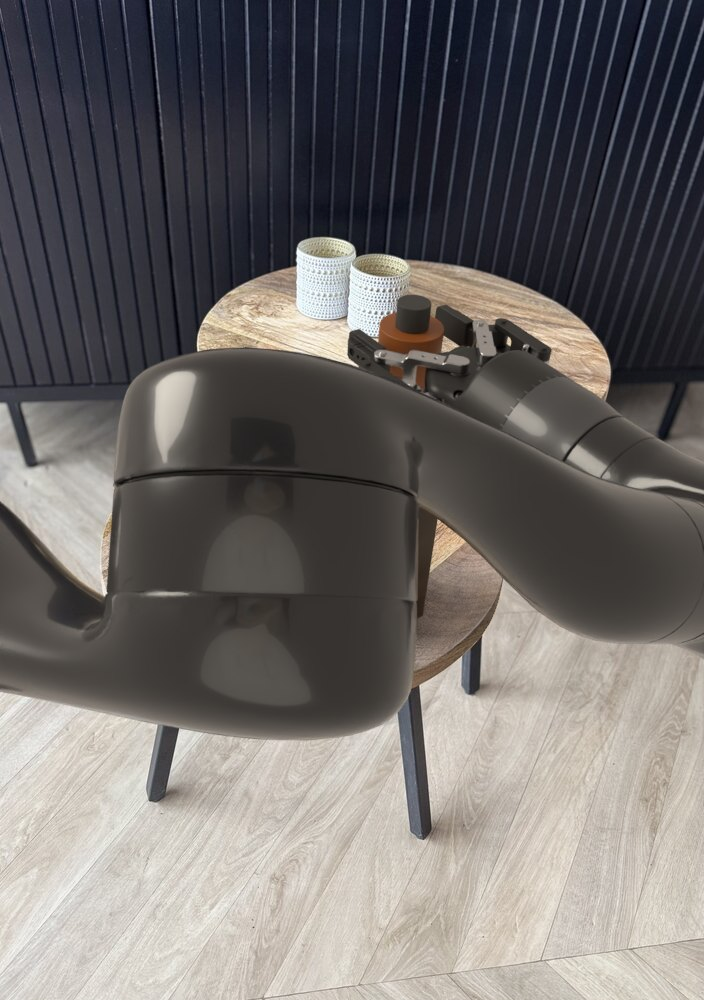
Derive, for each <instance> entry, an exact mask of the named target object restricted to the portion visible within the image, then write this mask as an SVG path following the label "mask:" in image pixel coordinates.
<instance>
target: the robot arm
mask: <svg viewBox="0 0 704 1000" xmlns="http://www.w3.org/2000/svg"><path fill="white" fill-rule="evenodd" d="M434 318H436V319H438V320H439V321H440V322H441V323H442V324H443V326H444V335H443V337H445V338H446V339H448V340H449V341H451V342H452V343H454V344H455V345H457V347H456V346H455V347H454V348H453V349H451V350H449V351H444V352H443V351H442V352H441V353H438V354H432V353H427V352H422V351H417V350H411V351H409V353H408V354H402V353H397V352H392V351H387V350H385V347H384V346H382V345H381V344H380V343H378V340H376V339H374V338H373V337H371V335H369V334H368V333H366V332H364V331H363V330H362V329H360V328H357V329H354V330H349V331H350V332H348V338H347V350H346V351H347V352H346V353H347V354H346V356H347V358H348V360H350V361H351V362H353V363H354V364H355V365H353V364H350V363H347V362H344V361H340V360H335V359H331V358H327V357H323V356H319V355H313V354H309V353H305V352H300V351H295V350H294V351H293V350H283V349H275V348H261V347H249V346H242V347H225V348H224V347H222V348H208V349H203V350H197V351H192V352H188V353H183V354H179V355H175V356H172V357H169V358H167V359H164V360H162V361H159V362H157V363H155V364H153V365H150V366H148V367H147V368H145V369H144V370H142V372H140V373H138V375H137V376H136V377H135V378H134V379H133V380H132V381H131V382H130V383H129V385H128V388H127V389H126V392H125V395H124V398H123V401H122V404H121V407H120V413H119V419H118V426H117V434H116V443H115V444H116V445H115V456H114V465H113V484H112V487H113V493H112V506H111V518H110V519H111V520H110V534H109V547H108V562H107V563H108V564H107V577H106V589H105V590H106V594H105V595H104V594H102V593H100V592H98V591H96V590H95V589H93V588H91V587H90V586H88V585H87V584H86V583H84V582H83V581H81V580H80V579H79V578H77V576H75V575H74V573H72V572H71V571H70V570H69V569H68V568H67V566H65V565H64V564H63V563H62V561H61V560H60V559H59V558H58V557H57V556H56V555H55V554H54V553H53V551H51V550H50V548H49V547H48V546H47V545H46V543H44V542H43V541H42V540H41V539H40V537H38V535H36V534H35V532H34V531H33V530H32V529H31V528H30V527H29V526H28V525H27V524H26V522H24V521H23V520H22V518H20V517H19V515H17V514H16V513H15V512H14V511H13V510H12V509H11V508H10V507H8V506H7V504H5V503H4V502H2V501H1V500H0V693H2V694H9V695H16V696H20V697H25V698H31V699H35V700H38V701H39V700H40V701H44V702H49V703H53V704H57V705H63V706H68V707H71V708H72V707H73V708H77V709H82V710H86V711H91V712H95V713H100V714H104V715H110V716H113V717H118V718H122V719H123V718H124V719H128V720H133V721H137V722H143V723H147V724H153V725H157V726H163V727H168V728H174V729H179V730H186V731H192V732H197V733H202V734H209V735H214V736H215V735H216V736H223V737H228V738H229V737H230V738H238V739H239V738H241V739H250V740H262V741H263V740H264V741H265V740H266V741H300V742H301V741H307V742H308V741H318V740H327V739H329V740H330V739H339V738H344V737H350V736H351V737H352V736H354V735H358V734H361V733H365V732H368V731H370V730H373V729H375V728H377V727H380V726H382V725H384V724H385V723H387V722H388V721H390V720H392V719H393V718H394V717H395V716H396V715H397V714H398V713H399V712H400V710H402V708H403V706H405V704H406V702H407V700H408V699H409V696H410V694H411V691H412V687H413V686H412V685H413V680H414V674H415V665H416V664H415V663H416V654H417V652H416V651H417V629H418V628H417V627H418V618H417V603H416V601H417V600H418V533H419V508H420V509H422V510H424V511H426V512H427V513H429V514H430V515H432V516H433V517H435V518H437V519H438V521H440V522H441V523H442V524H443V525H445V526H446V527H447V528H448V529H450V530H451V531H452V532H453V533H454V534H456V535H458V536H459V537H460V538H461V539H462V540H464V541H465V542H466V544H468V545H469V546H470V547H471V548H472V549H473V550H474V551H475V552H476V553H477V554H478V555H479V556H480V557H481V558H483V560H484V561H485V562H486V563H487V564H488V565H489V566H491V568H492V569H493V570H494V571H495V572H496V573H497V574H498V575H499V576H500V577H501V578H502V579H503V580H504V581H505V582H506V583H507V584H508V585H509V586H510V587H511V588H512V589H513V590H514V591H515V592H517V594H518V595H519V596H520V597H521V598H523V600H524V601H525V602H527V603H528V604H529V605H530V607H532V608H533V609H535V610H536V611H537V612H538V613H539V614H540V615H542V616H544V617H545V618H546V619H548V620H549V621H551V622H553V624H556V625H557V626H558V627H560V628H562V629H564V630H566V631H568V632H570V633H573V634H575V635H577V636H580V637H583V638H585V639H588V640H592V641H595V642H602V643H609V644H616V645H672V646H676V647H678V648H681V649H683V650H684V651H685V650H686V651H688V652H690V653H693V654H694V655H696V656H698V657H699V658H700V659H702V660H704V461H702V460H700V459H698V458H696V457H693V456H691V455H689V454H687V453H685V452H683V451H680V450H679V449H677V448H675V447H673V446H672V445H670V444H668V443H667V442H665V441H663V440H662V439H660V438H658V437H657V436H656V435H653V434H652V433H650V432H648V430H646V429H644V428H643V427H641V426H640V425H638V424H636V423H635V422H633V421H631V419H628V418H626V417H625V416H623V415H622V414H621V413H619V412H618V411H617V410H616V409H615V408H613V406H611V405H610V404H609V403H608V402H607V401H606V400H604V399H603V398H602V397H600V396H599V395H597V394H596V393H594V392H593V391H591V390H590V389H588V388H587V387H585V386H583V385H582V384H579V383H578V382H577V381H574V380H573V379H572V378H570V377H569V376H567V375H566V374H564V373H562V372H560V371H559V370H557V368H554V367H552V366H551V365H550V359H551V355H552V351H553V348H551V347H550V346H548V344H545V343H544V342H542V341H541V340H540V339H538V338H536V337H535V336H534V335H532V334H531V333H529V332H527V330H524V329H523V328H522V327H520V326H518V325H517V324H515V323H514V322H512V321H511V320H509V319H508V318H503V317H499V318H496V319H495V320H494V324H493V323H492V324H489V322H487V321H486V320H482V319H476V320H474V319H472V318H471V317H469V316H467V315H466V314H464V313H462V312H461V311H459V310H458V309H455V308H453V307H451V306H450V305H448V304H442V305H438V306H437V307H436V309H435V314H434ZM508 339H509V340H510V345H509V344H508ZM390 365H391V366H395V367H400V368H402V369H403V377H398V376H394V375H393V374H391V373H390V372H389V370H390ZM417 366H422V367H426V371H425V379H424V381H425V388H424V387H420V386H418V385H417V384H416V381H415V380H416V371H417Z"/></svg>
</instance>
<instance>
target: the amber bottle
mask: <svg viewBox="0 0 704 1000" xmlns="http://www.w3.org/2000/svg"><path fill="white" fill-rule="evenodd" d="M432 305H433V304H432V301H431V300H430V299H429V298H428V297H426V296H423V295H420V294H407V295H402V296H400V297H399V298H398V299H397V301H396V309H395V312H393V313H392V312H391V313H389V314H387V315H386V316H384V317H382V319H380V321H379V324H378V325H379V326H378V327H379V328H378V339H377V342H378V343H380V344H381V345H382V346H384V347H385V350H387V351H392V352H397V353H402V354H408V353H409V351H411V350H417V351H422V352H427V353H432V354H438V353H442V351H443V350H442V348H443V341H444V336H443V335H444V326H443V324H442V323H441V322H440V321H439V320H438V319H436V318H435V316H432V315H431V313H432ZM425 371H426V367H422V366H417V371H416V380H415V381H416V384H417V385H418V386H420V387H424V388H425V381H424V379H425ZM389 372H390V373H391V374H393V375H394V376H398V377H403V369H402V368H400V367H395V366H391V365H390V370H389Z"/></svg>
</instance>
